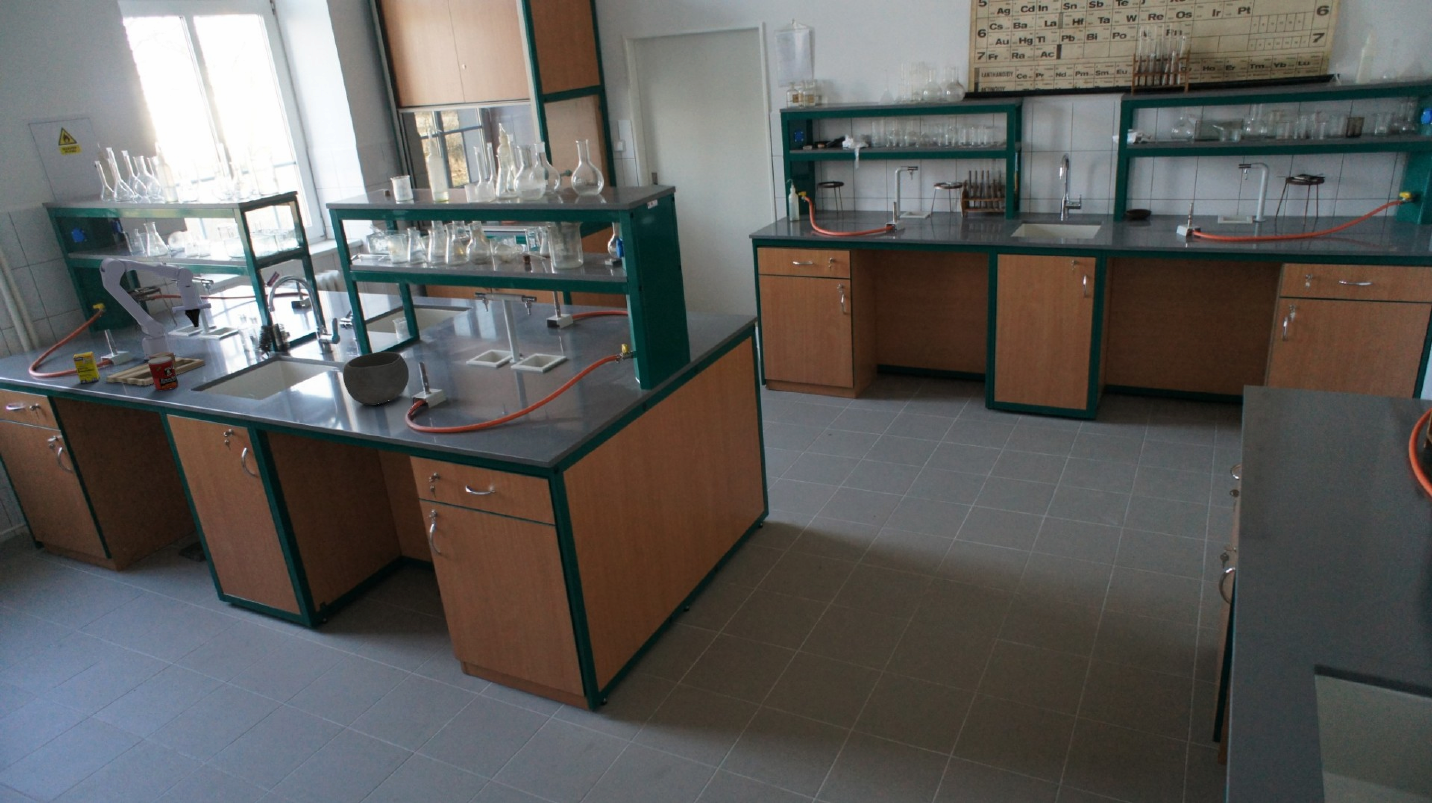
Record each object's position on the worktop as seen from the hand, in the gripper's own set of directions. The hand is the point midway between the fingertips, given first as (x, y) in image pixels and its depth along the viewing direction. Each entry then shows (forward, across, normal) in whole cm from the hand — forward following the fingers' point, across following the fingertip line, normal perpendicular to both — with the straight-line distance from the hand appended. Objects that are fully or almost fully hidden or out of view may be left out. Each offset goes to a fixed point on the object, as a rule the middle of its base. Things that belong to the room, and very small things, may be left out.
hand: (196, 326), depth 394 cm
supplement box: (+10, -33, -31) cm, 46 cm away
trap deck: (+9, -10, -32) cm, 35 cm away
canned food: (+10, -1, -54) cm, 55 cm away
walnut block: (+7, -5, -35) cm, 36 cm away
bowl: (+10, +79, -107) cm, 133 cm away
